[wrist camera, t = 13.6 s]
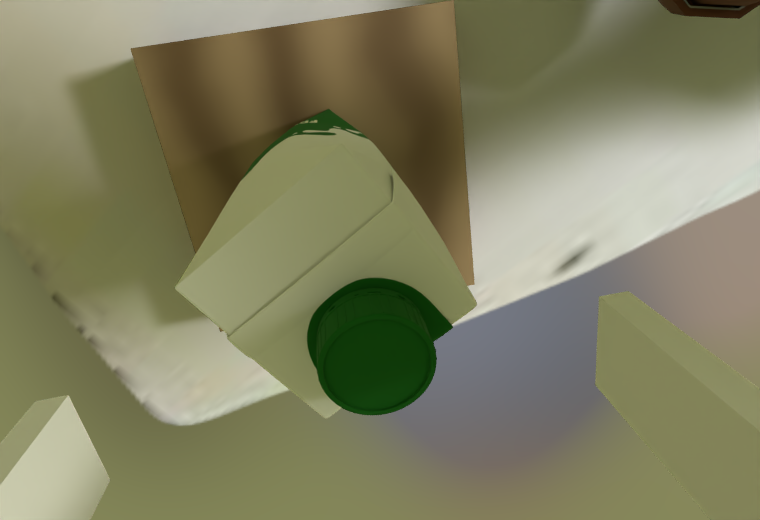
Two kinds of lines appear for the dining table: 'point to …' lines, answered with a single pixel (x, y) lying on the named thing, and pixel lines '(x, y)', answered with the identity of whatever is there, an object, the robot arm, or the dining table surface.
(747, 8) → the ice cream bowl
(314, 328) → the soya milk
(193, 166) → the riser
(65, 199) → the dining table surface
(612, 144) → the dining table surface
